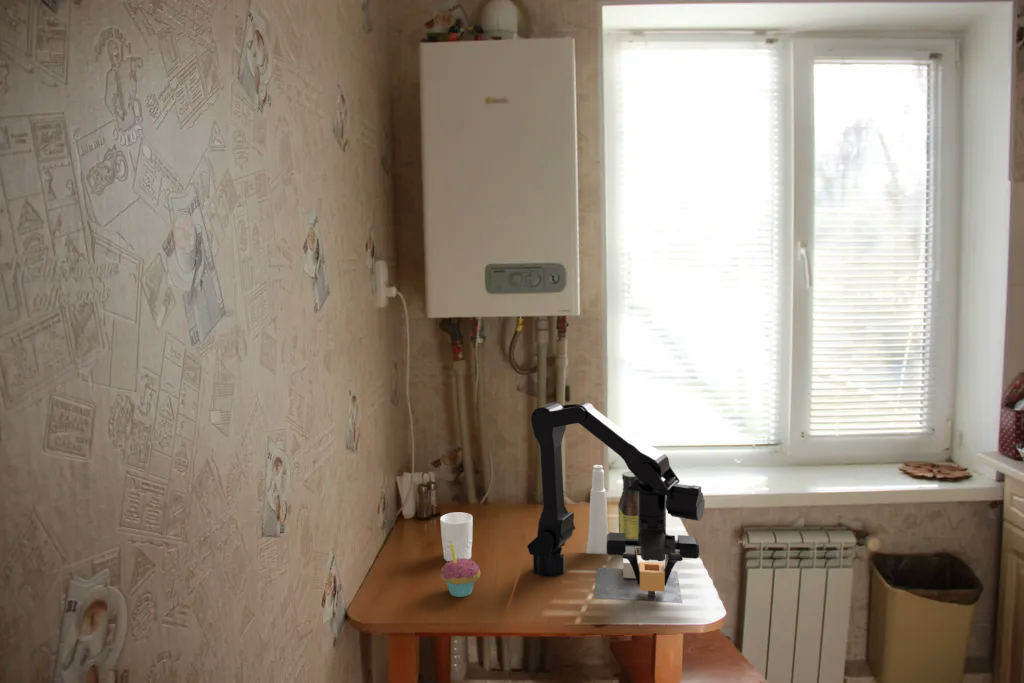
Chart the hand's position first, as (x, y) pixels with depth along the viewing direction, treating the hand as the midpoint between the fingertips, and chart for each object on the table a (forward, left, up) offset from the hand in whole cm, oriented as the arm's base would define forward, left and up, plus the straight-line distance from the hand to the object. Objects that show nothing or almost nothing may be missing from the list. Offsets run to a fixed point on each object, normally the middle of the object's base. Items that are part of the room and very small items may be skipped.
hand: (651, 584), depth 150 cm
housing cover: (-3, +9, -2) cm, 10 cm away
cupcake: (-41, -1, -4) cm, 41 cm away
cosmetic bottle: (-12, +23, -4) cm, 26 cm away
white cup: (-46, +17, -4) cm, 49 cm away
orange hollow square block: (0, 0, 0) cm, 0 cm away
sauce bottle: (-4, +25, -4) cm, 26 cm away
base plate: (-3, +4, -3) cm, 6 cm away
